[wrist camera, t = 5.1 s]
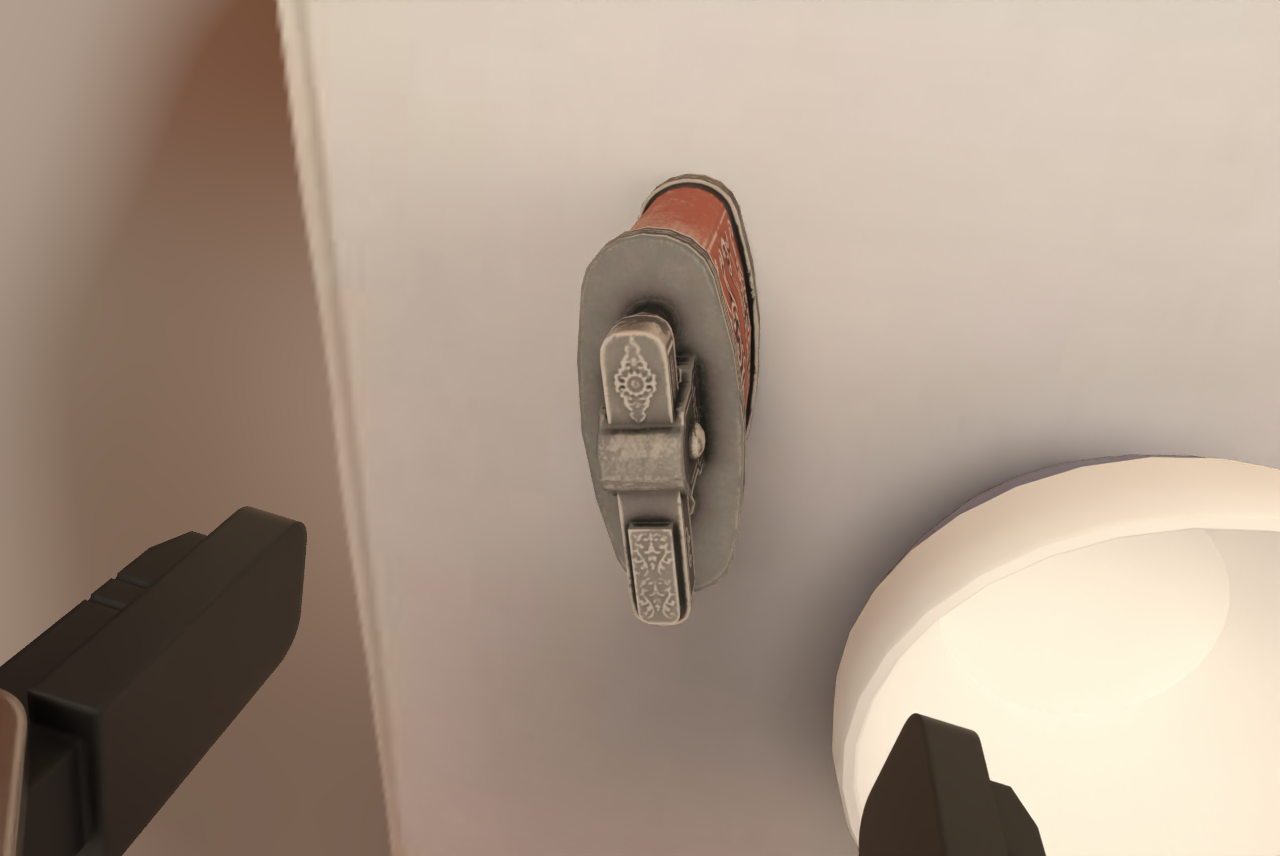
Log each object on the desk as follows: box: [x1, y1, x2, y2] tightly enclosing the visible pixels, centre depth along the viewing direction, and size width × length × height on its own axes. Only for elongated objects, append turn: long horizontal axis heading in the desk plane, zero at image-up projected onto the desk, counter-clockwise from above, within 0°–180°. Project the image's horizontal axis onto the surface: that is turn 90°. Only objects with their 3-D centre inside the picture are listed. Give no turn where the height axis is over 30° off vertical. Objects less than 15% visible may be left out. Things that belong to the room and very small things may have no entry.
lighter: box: [577, 174, 760, 626], centre depth 20 cm, size 8×3×10 cm, turn 6°
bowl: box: [832, 455, 1280, 856], centre depth 23 cm, size 14×14×8 cm
